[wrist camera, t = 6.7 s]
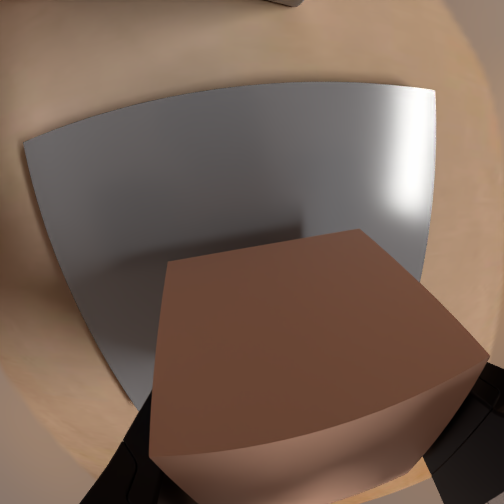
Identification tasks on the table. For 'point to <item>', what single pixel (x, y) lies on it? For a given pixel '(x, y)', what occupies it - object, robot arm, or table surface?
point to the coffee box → (289, 2)
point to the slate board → (225, 191)
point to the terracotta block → (301, 371)
